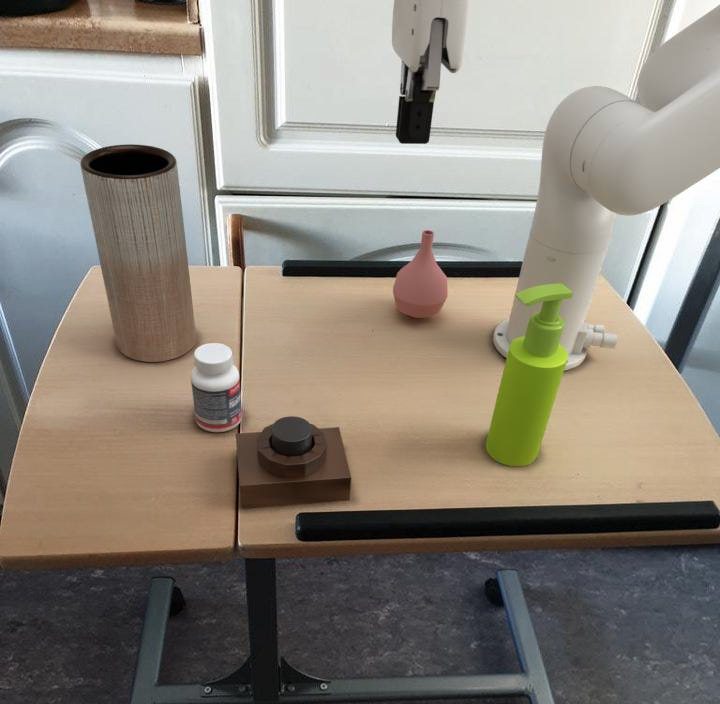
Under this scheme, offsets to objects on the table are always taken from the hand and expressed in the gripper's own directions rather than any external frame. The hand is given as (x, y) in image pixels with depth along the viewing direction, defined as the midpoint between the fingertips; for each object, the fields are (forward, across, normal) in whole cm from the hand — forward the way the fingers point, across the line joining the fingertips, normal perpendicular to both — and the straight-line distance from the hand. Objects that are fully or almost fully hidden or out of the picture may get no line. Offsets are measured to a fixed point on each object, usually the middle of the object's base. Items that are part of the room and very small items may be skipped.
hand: (412, 140), depth 73 cm
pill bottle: (+27, -10, +22) cm, 36 cm away
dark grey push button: (+22, -21, +15) cm, 34 cm away
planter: (+27, +7, +29) cm, 41 cm away
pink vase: (+27, +12, -7) cm, 30 cm away
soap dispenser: (+27, -19, -10) cm, 35 cm away
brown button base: (+27, -21, +15) cm, 37 cm away
